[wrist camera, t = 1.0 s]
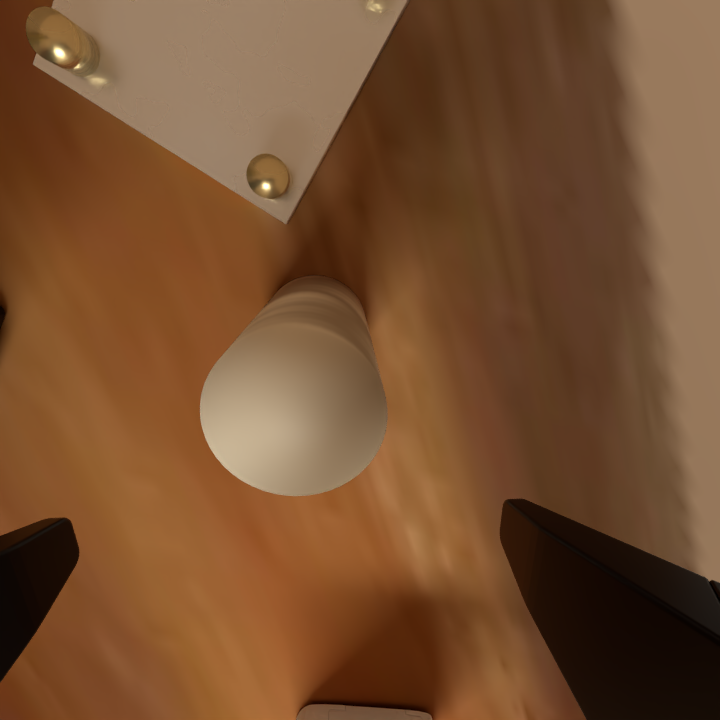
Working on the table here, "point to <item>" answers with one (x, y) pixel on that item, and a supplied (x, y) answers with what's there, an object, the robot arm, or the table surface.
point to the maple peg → (298, 393)
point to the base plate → (222, 78)
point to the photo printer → (358, 713)
